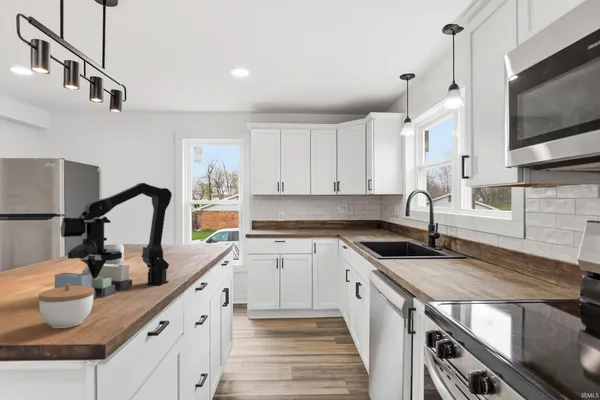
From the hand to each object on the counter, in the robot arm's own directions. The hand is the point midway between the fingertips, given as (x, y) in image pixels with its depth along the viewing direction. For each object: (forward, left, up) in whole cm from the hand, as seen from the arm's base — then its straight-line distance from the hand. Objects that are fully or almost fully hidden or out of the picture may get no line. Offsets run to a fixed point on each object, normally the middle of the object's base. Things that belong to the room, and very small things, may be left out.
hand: (94, 278), depth 126 cm
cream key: (0, -9, -2) cm, 9 cm away
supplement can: (+14, -25, -6) cm, 29 cm away
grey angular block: (+15, -16, -6) cm, 23 cm away
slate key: (0, +9, -2) cm, 9 cm away
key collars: (0, 0, -6) cm, 6 cm away
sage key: (0, 0, -6) cm, 6 cm away
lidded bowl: (-18, +28, -6) cm, 34 cm away
